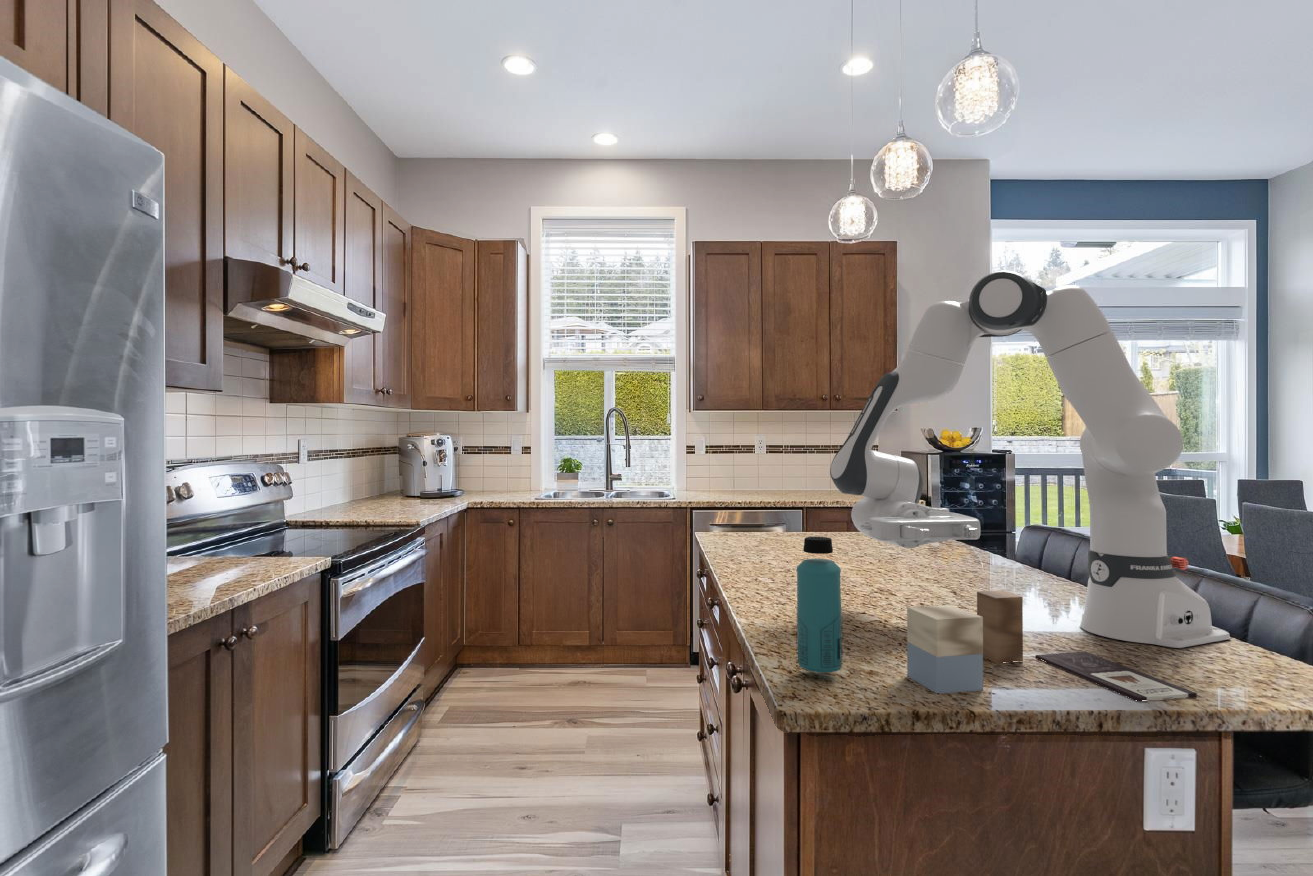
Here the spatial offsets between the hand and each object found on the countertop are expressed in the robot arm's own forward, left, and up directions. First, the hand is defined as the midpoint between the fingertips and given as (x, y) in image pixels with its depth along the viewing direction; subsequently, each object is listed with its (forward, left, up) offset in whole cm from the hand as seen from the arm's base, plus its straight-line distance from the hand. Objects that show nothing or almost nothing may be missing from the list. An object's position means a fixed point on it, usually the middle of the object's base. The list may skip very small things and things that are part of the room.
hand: (950, 534), depth 115 cm
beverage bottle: (+31, +14, -18) cm, 38 cm away
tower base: (+15, +20, -18) cm, 31 cm away
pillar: (0, +12, -18) cm, 21 cm away
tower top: (+15, +20, -13) cm, 28 cm away
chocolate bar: (-10, +22, -18) cm, 30 cm away
